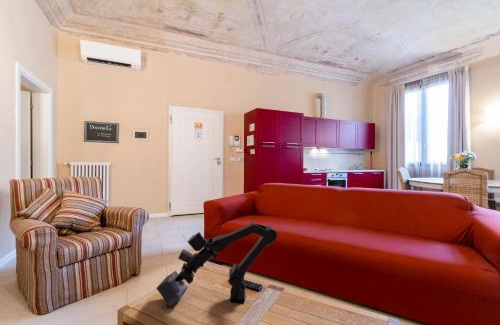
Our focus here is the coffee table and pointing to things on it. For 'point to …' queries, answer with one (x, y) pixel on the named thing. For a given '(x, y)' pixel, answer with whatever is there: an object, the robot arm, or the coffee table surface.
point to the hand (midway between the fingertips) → (175, 280)
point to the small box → (172, 289)
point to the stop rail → (164, 305)
